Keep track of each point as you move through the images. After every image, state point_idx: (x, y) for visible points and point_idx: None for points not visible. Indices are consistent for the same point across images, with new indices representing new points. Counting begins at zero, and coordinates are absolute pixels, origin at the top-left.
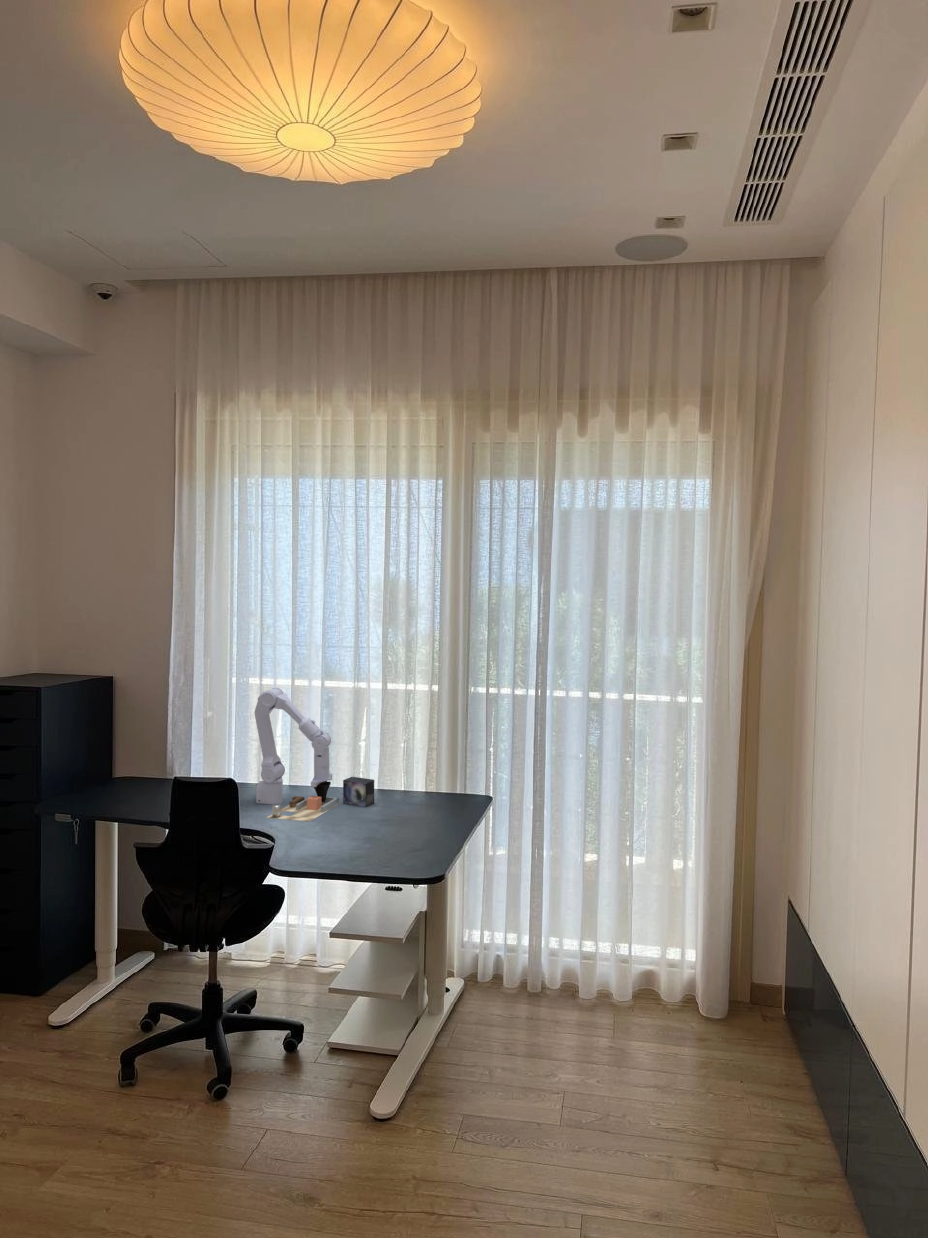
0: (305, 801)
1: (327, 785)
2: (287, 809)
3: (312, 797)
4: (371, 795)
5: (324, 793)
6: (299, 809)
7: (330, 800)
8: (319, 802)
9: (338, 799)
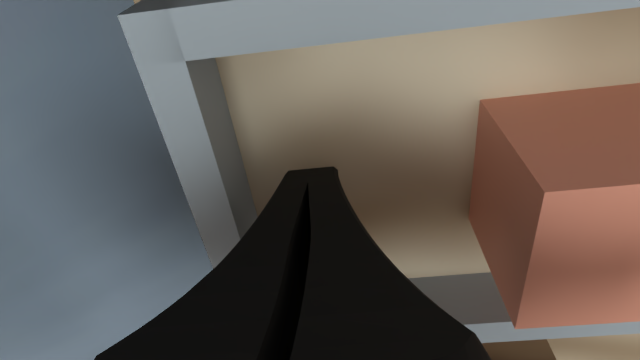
0: (480, 317)
1: (338, 355)
2: (622, 338)
3: (618, 287)
4: None
5: (366, 237)
6: None
7: (220, 124)
8: (599, 136)
9: (135, 7)
